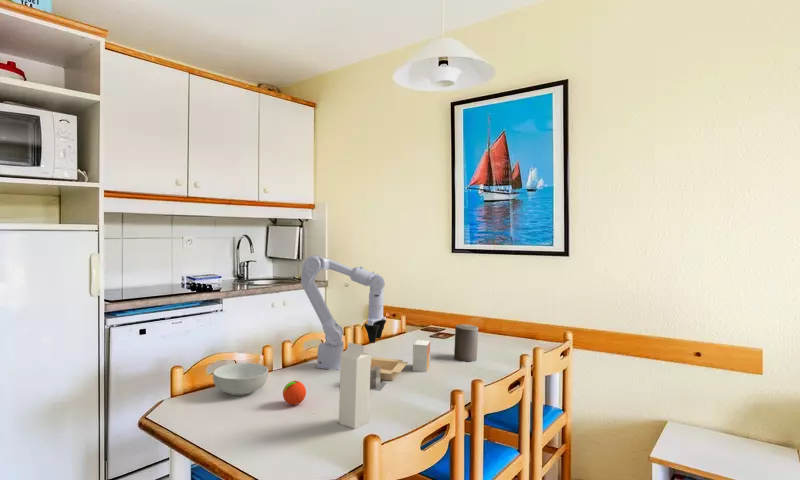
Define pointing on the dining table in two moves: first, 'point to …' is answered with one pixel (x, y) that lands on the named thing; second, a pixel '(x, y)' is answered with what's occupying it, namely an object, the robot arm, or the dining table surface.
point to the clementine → (294, 392)
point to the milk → (354, 386)
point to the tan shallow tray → (388, 367)
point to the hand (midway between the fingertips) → (375, 340)
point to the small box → (421, 355)
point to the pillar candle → (466, 343)
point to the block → (374, 376)
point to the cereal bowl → (240, 378)
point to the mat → (379, 386)
